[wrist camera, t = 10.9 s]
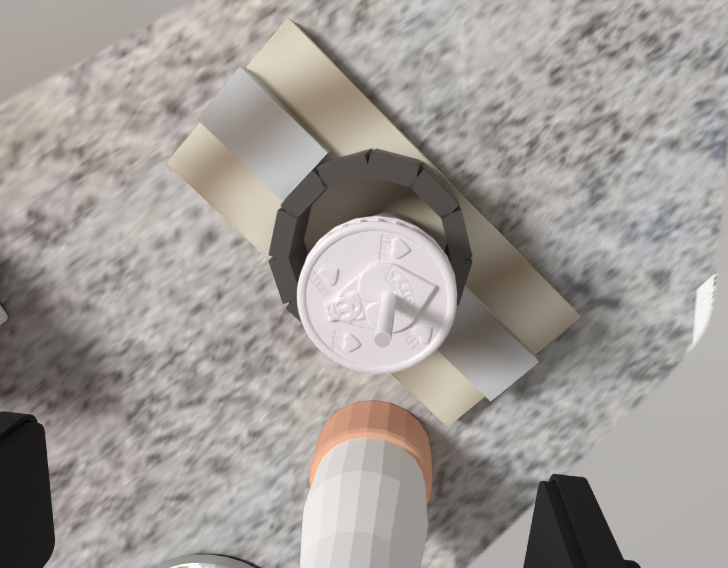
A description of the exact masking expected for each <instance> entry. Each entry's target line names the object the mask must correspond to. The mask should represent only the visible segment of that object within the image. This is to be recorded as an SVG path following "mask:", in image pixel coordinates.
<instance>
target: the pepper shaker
mask: <svg viewBox="0 0 728 568" xmlns="http://www.w3.org/2000/svg"><path fill="white" fill-rule="evenodd" d="M309 484H310V487H311V488H310V491H309V494H308V497H307V500H306V503H305V506H304V513H303V524H302V541H301V558H300V568H420V566H421V561H422V557H423V552H424V547H425V542H426V536H427V530H428V517H427V504H428V502H429V501H430V496H431V490H432V484H433V480H432V452H431V447H430V442H429V437H428V435H427V433H426V432H425V430H424V428H423V427H422V425H421V423H420V422H419V421H418V420H417V419H416V418H415V417H413V416H412V415H411V414H410V413H409V412H408V411H407V410H404V409H402V408H400V407H398V406H396V405H393V404H391V403H387V402H380V401H373V400H371V401H364V402H357V403H353V404H351V405H349V406H346V407H344V408H342V409H340V410H338V411H337V412H336V413H335V414H334V415H333V416H332V417H331V418H330V419H329V420H328V421H327V422H326V424H325V426H324V428H323V430H322V432H321V434H320V436H319V439H318V443H317V446H316V449H315V453H314V456H313V459H312V463H311V467H310V477H309Z"/></svg>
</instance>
